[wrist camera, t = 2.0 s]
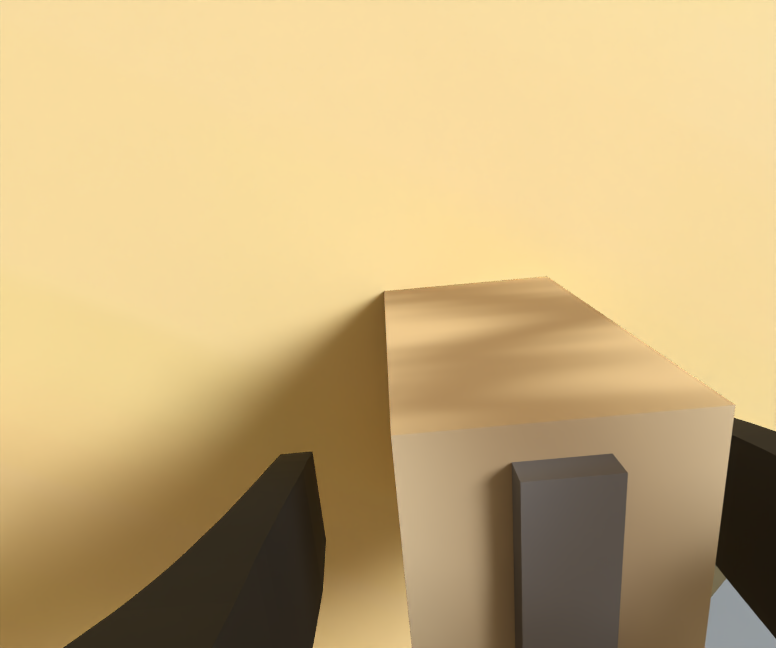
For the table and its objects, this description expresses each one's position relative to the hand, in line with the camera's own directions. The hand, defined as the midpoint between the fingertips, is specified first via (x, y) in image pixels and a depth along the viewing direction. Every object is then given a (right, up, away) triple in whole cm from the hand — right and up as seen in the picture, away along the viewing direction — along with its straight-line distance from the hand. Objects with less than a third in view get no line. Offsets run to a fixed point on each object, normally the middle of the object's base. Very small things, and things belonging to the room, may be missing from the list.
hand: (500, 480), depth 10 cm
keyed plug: (0, +1, +4) cm, 4 cm away
